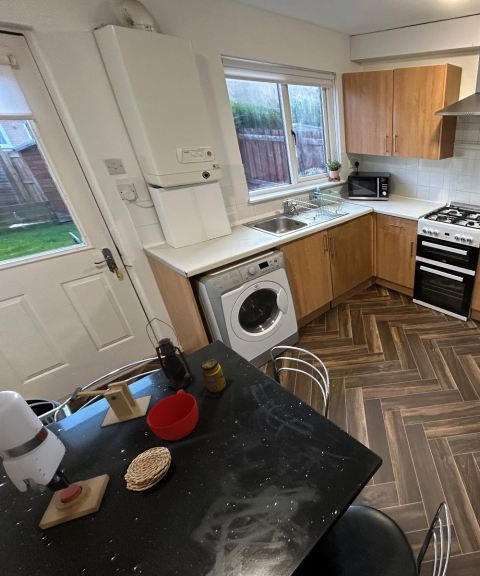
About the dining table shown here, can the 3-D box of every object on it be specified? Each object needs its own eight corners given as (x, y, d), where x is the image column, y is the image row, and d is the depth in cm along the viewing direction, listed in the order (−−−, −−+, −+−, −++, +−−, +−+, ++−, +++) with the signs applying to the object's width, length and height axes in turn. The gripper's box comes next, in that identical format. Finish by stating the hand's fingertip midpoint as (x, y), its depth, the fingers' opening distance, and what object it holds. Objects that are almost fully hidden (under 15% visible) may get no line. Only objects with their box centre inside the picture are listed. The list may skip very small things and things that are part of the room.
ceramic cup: (209, 401, 110) (201, 380, 106) (200, 442, 96) (191, 421, 92) (167, 410, 107) (157, 389, 102) (152, 454, 93) (140, 433, 88)
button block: (43, 530, 76) (34, 522, 74) (60, 494, 83) (52, 485, 81) (98, 511, 80) (91, 503, 78) (110, 478, 87) (104, 469, 85)
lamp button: (60, 505, 78) (56, 501, 77) (66, 490, 80) (63, 487, 80) (78, 499, 79) (74, 495, 78) (83, 485, 82) (80, 481, 81)
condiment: (231, 382, 118) (223, 358, 112) (217, 399, 111) (208, 375, 105) (214, 379, 119) (206, 355, 113) (199, 396, 112) (189, 372, 106)
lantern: (172, 395, 113) (141, 328, 98) (167, 382, 118) (138, 317, 103) (196, 384, 117) (170, 319, 103) (191, 372, 123) (165, 309, 108)
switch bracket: (102, 428, 100) (85, 403, 95) (111, 407, 108) (96, 383, 102) (146, 416, 104) (132, 392, 99) (152, 397, 112) (139, 373, 106)
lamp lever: (69, 403, 95) (68, 397, 94) (76, 392, 99) (75, 386, 98) (120, 399, 100) (119, 393, 99) (124, 388, 104) (124, 383, 103)
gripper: (19, 418, 73) (57, 464, 82) (-24, 478, 61) (26, 525, 70) (60, 409, 76) (92, 455, 85) (26, 465, 64) (68, 511, 73)
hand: (62, 486), depth 78 cm, fingers closed
